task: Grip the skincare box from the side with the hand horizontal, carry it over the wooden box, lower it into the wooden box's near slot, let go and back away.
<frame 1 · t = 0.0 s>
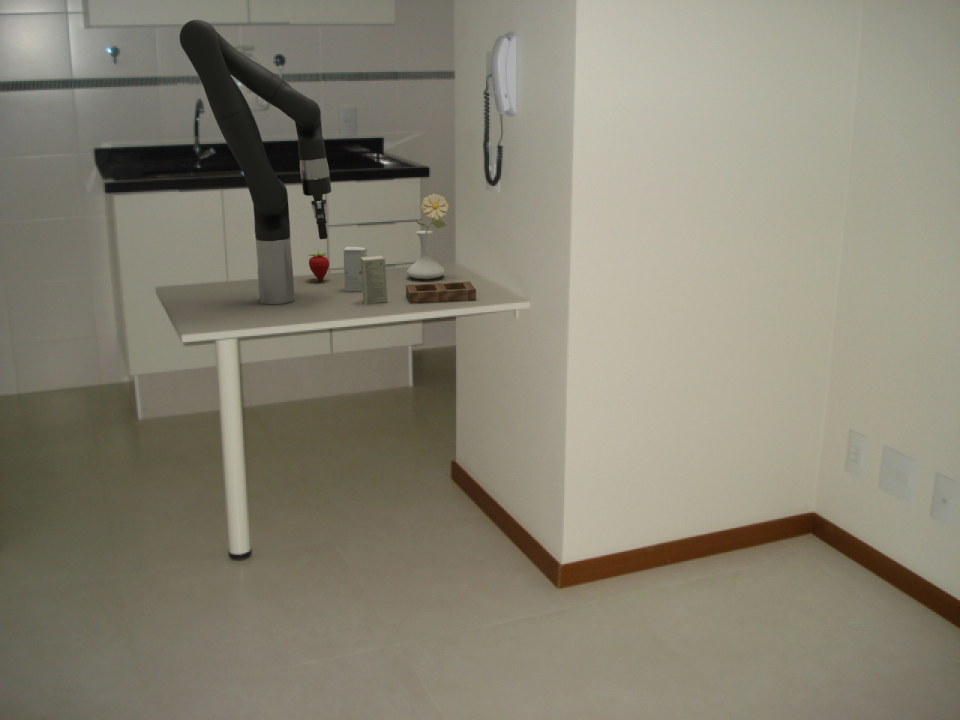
hand: (323, 236, 271), 17 cm above the table, tool pointing down, fingers open, 8 cm apart
skincare box 2: (356, 290, 285), on the table
strawberry: (320, 281, 297), on the table
flower in vase: (428, 278, 299), on the table
skincare box: (374, 302, 272), on the table
wooden box: (440, 297, 275), on the table
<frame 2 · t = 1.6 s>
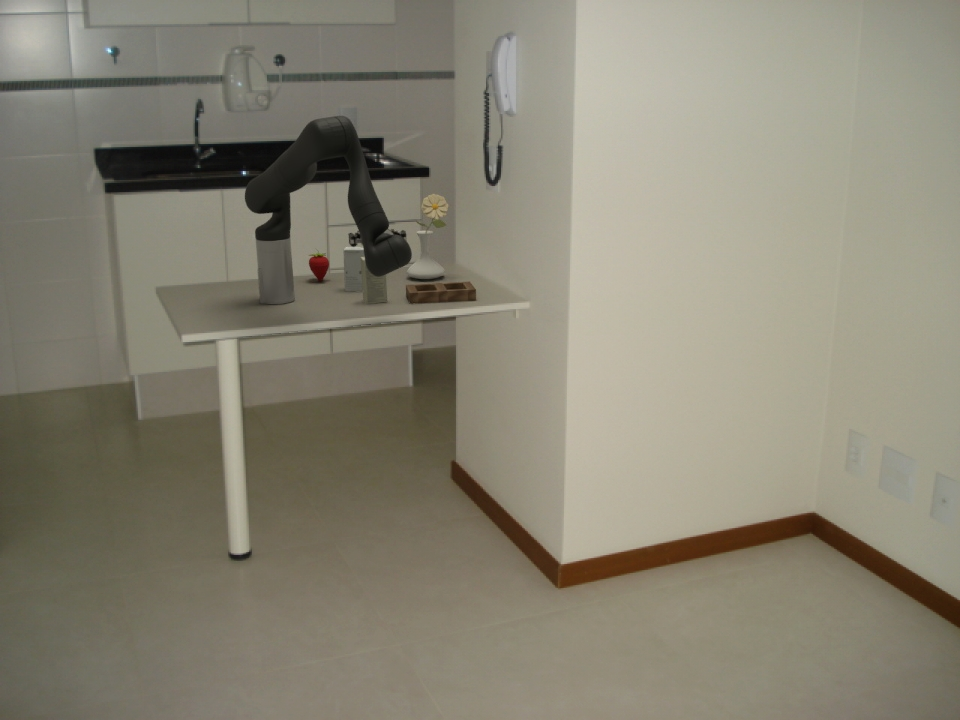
hand: (375, 233, 256), 20 cm above the table, tool horizontal, fingers open, 8 cm apart
nothing on the table moved.
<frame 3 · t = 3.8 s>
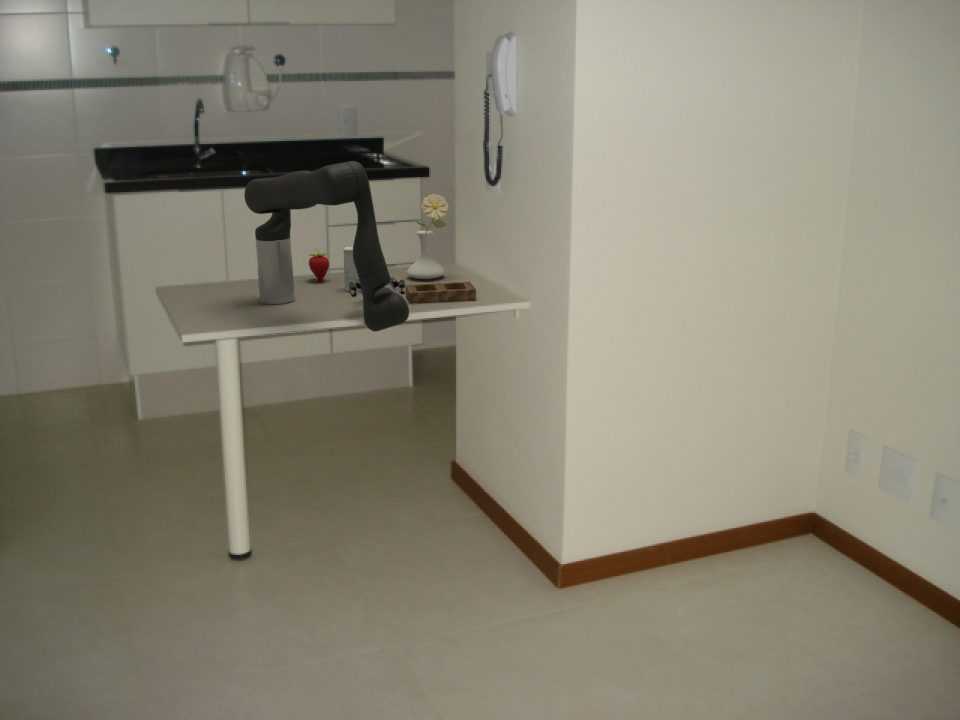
hand: (375, 281, 263), 7 cm above the table, tool horizontal, fingers open, 8 cm apart
nothing on the table moved.
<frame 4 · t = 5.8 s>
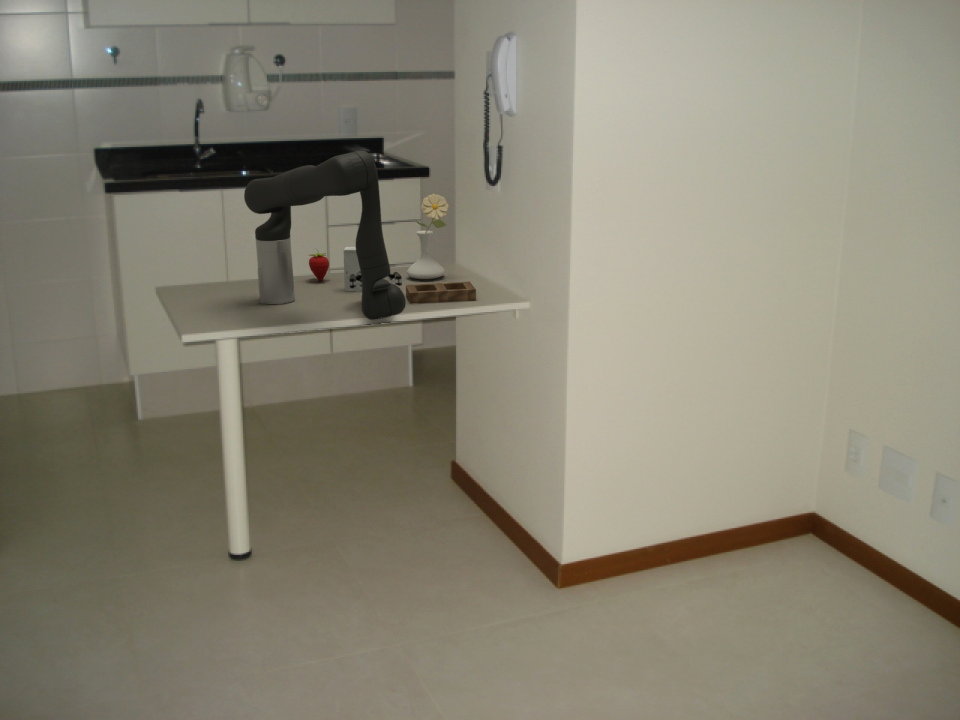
hand: (373, 274, 272), 7 cm above the table, tool horizontal, fingers closed on skincare box, 6 cm apart
skincare box: (374, 302, 272), on the table, touching gripper
everything else where it was.
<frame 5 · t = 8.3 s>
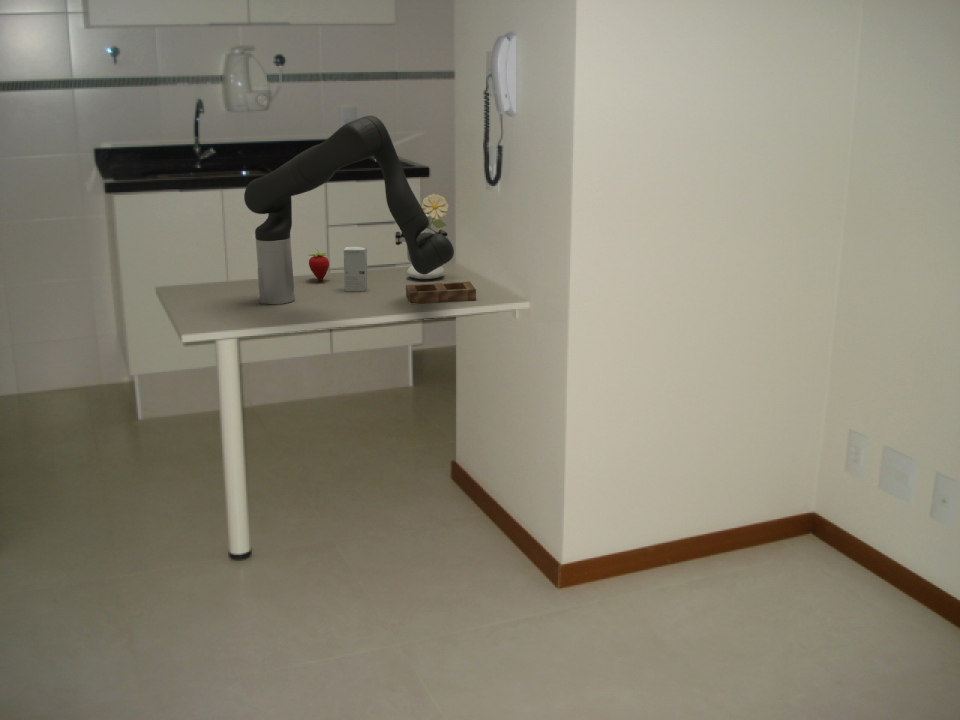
hand: (417, 233, 270), 18 cm above the table, tool horizontal, fingers closed on skincare box, 6 cm apart
skincare box: (419, 261, 270), point 11 cm above the table, touching gripper
everything else where it was.
when the fingers open (10 cm above the table, at t = 10.8 s): skincare box stays where it is, resting on wooden box.
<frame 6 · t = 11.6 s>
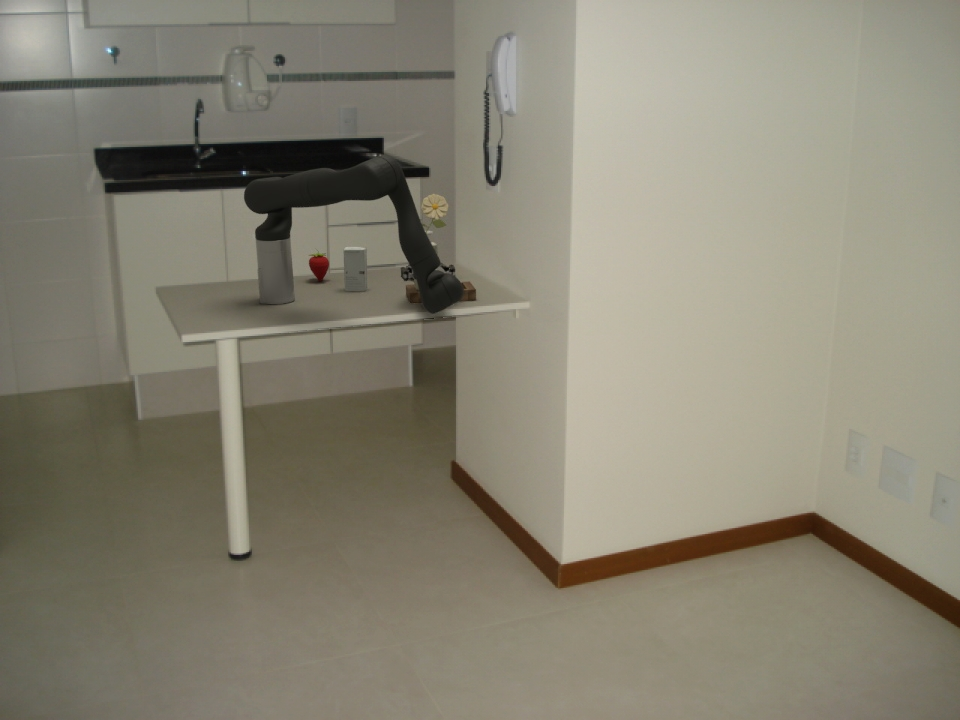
hand: (425, 267, 273), 9 cm above the table, tool horizontal, fingers open, 8 cm apart
skincare box: (426, 288, 273), point 3 cm above the table, touching wooden box
everything else where it was.
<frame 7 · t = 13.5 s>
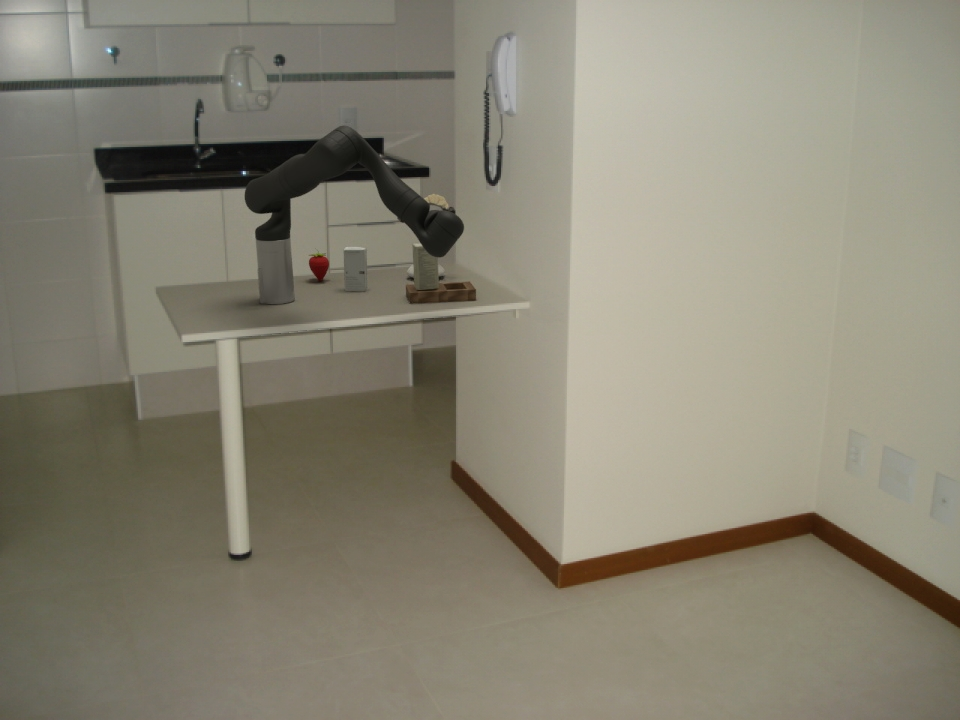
hand: (422, 209, 256), 26 cm above the table, tool horizontal, fingers open, 8 cm apart
nothing on the table moved.
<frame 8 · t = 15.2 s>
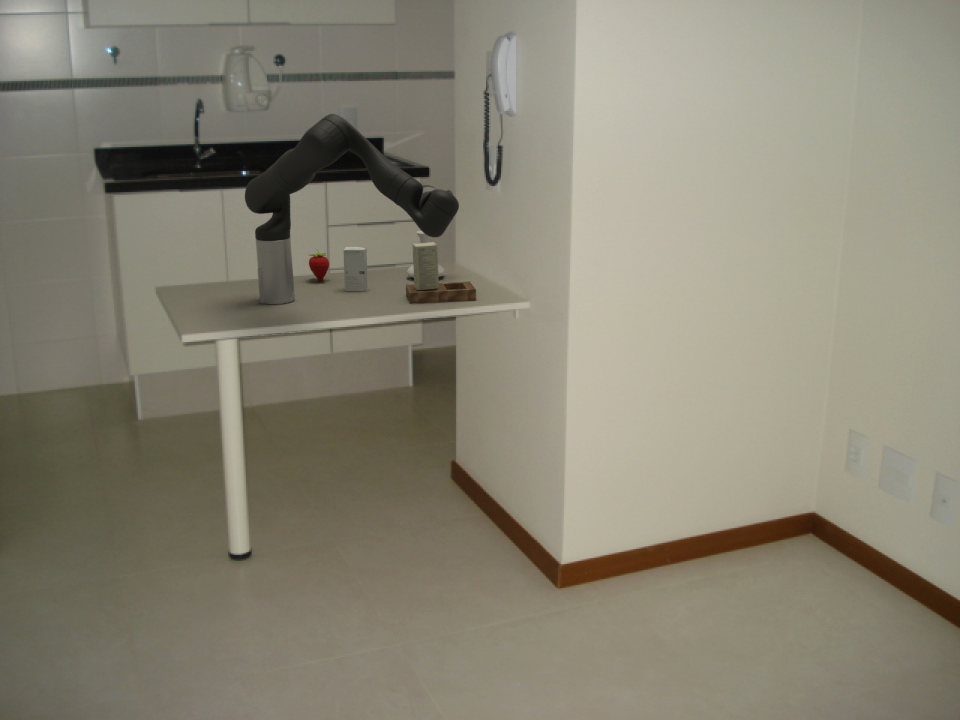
hand: (420, 194, 254), 30 cm above the table, tool horizontal, fingers open, 8 cm apart
nothing on the table moved.
at the end: skincare box 0.3 cm from the target spot, point 2.8 cm above the table; skincare box tilted 0°; the gripper is holding nothing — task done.
